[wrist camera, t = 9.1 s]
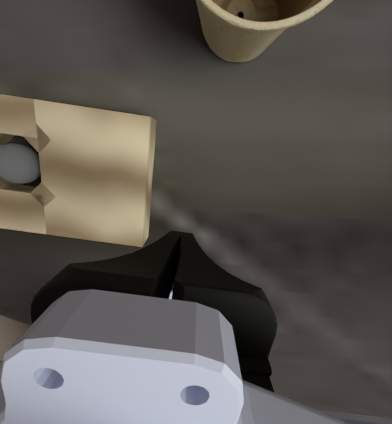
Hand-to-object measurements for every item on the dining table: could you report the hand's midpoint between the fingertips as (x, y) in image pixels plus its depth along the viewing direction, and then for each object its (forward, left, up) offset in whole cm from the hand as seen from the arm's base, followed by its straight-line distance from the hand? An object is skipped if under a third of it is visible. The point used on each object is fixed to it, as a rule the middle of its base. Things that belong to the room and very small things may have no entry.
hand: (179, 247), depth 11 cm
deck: (+2, +13, -10) cm, 16 cm away
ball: (+2, +16, -8) cm, 18 cm away
